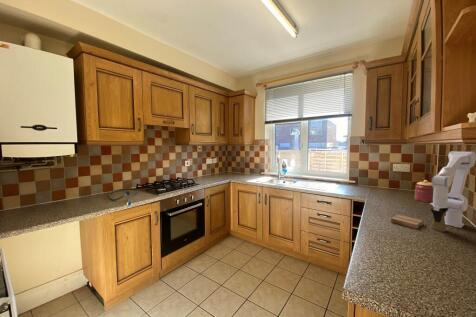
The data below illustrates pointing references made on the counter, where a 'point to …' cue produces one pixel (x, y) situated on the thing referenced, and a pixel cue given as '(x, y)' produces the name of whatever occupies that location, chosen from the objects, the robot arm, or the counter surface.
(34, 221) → the counter surface
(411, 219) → the tan flat block
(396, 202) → the counter surface
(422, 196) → the canister
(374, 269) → the counter surface
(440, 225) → the olive rounded piece
